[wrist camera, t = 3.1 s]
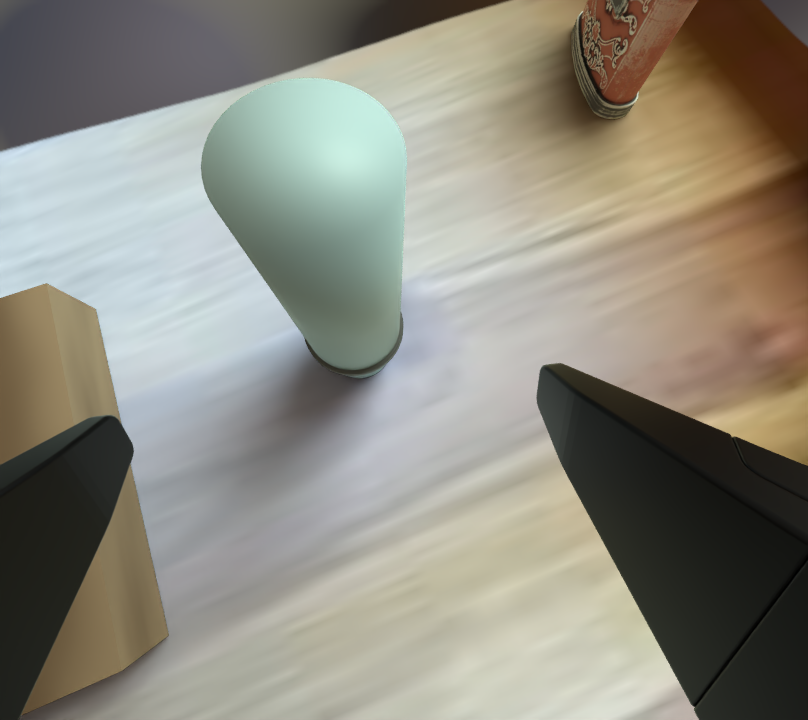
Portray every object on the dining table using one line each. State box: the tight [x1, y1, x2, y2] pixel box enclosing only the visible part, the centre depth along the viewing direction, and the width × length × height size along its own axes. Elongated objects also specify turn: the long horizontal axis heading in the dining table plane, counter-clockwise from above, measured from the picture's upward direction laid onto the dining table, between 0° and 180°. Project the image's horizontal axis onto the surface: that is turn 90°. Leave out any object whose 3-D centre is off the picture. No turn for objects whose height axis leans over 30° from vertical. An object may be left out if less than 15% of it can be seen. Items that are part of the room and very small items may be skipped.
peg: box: [201, 78, 407, 378], centre depth 14 cm, size 4×4×13 cm
